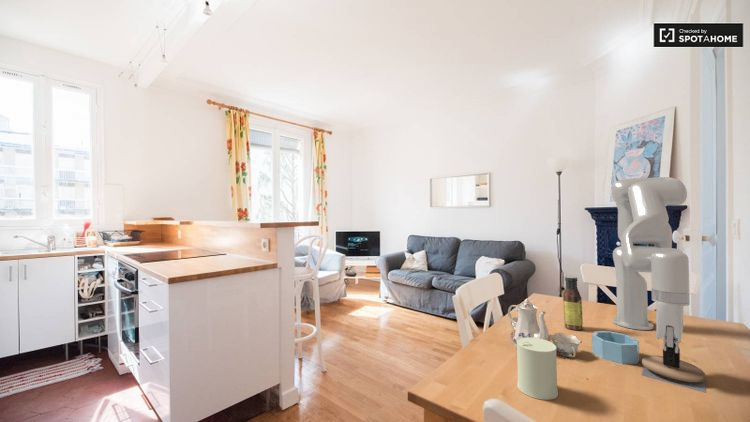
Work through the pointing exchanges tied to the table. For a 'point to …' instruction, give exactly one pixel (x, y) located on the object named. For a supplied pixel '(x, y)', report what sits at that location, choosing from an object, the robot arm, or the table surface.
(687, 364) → the lid
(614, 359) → the bowl
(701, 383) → the mat
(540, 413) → the table surface
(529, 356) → the can
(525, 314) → the chinaware
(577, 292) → the sauce bottle
